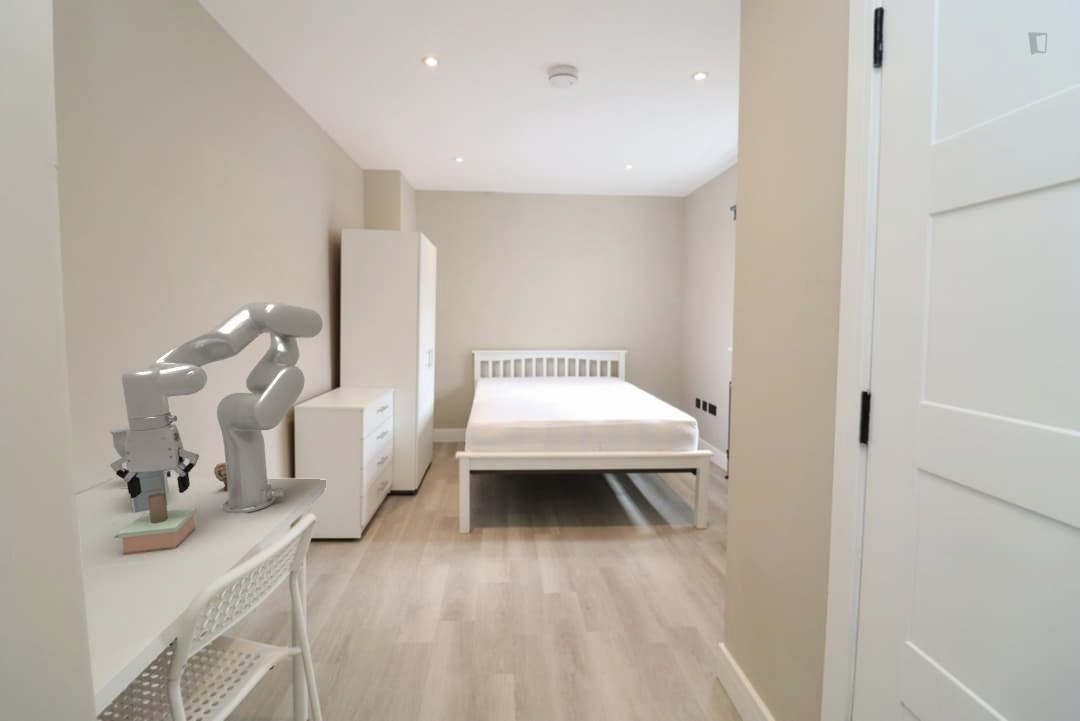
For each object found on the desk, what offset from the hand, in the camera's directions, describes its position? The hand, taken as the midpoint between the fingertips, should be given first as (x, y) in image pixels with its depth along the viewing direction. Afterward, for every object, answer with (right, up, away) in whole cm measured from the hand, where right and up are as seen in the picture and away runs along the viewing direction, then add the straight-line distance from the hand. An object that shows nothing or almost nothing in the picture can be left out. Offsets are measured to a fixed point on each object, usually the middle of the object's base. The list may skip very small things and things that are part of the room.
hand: (160, 493), depth 114 cm
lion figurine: (-4, -8, +36) cm, 38 cm away
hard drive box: (-22, -10, +25) cm, 34 cm away
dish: (0, -12, +1) cm, 12 cm away
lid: (0, -7, 0) cm, 7 cm away
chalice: (-39, -8, +38) cm, 55 cm away
